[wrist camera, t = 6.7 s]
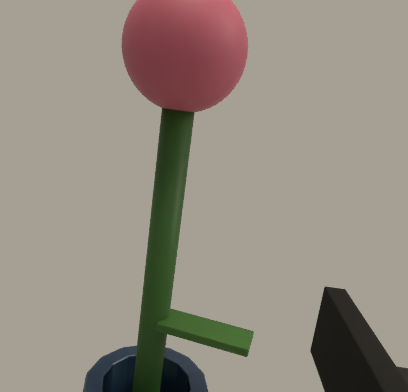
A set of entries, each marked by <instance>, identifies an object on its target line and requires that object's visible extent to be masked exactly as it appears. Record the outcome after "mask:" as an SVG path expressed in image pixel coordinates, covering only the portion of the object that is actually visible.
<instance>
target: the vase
mask: <svg viewBox="0 0 408 392" xmlns="http://www.w3.org/2000/svg"><path fill="white" fill-rule="evenodd" d="M136 352H137V346H131V347H123V348H120V349H118V350H116V351H114V352H111V353H110V354H107V355H105V356H103V357H101V358H100V359H99V360H98V361H97V363H96V364H95V365H94V366H93V367H92V368H91V369H90V370H89V371H88V372H87V375H86V378H85V384H84V389H83V392H132V390H133V381H134V371H135V362H136ZM160 392H208V389H207V385H206V381H205V376H204V373H203V372H202V371H201V370H200V369H199V368H198V367H197V366H196V364H195V363H193V361H192V360H191V359H190V358H189V357H187V356H185V355H183V354H181V353H179V352H176V351H174V350H172V349H170V348H166V347H165V353H164V361H163V370H162V378H161V386H160Z"/></svg>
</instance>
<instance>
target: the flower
mask: <svg viewBox="0 0 408 392" xmlns="http://www.w3.org/2000/svg"><path fill="white" fill-rule="evenodd" d="M247 52H248V39H247V33H246V29H245V25H244V22H243V19H242V17H241V15H240V13H239V11H238V9H237V8H236V6H235V4H234V3H233V2H232V1H231V0H137V1H136V3H135V4H134V5H133V7H132V8H131V10H130V12H129V14H128V17H127V18H126V21H125V24H124V28H123V35H122V54H123V59H124V63H125V67H126V69H127V72H128V74H129V76H130V78H131V80H132V82H133V83H134V85H135V86H136V88H137V89H138V90H139V91H140V92H141V93H142V95H144V96H145V97H146V98H147V99H148V100H149V101H151V102H153V103H154V104H156V105H157V106H160V107H161V108H162V115H161V124H160V134H159V143H158V153H157V162H156V172H155V181H154V191H153V200H152V210H151V219H150V228H149V238H148V248H147V257H146V266H145V276H144V286H143V295H142V305H141V314H140V324H139V334H138V343H137V352H136V362H135V371H134V381H133V390H132V392H160V386H161V378H162V370H163V361H164V353H165V345H166V337H167V334H169V335H173V336H176V337H180V338H183V339H187V340H190V341H194V342H197V343H200V344H204V345H207V346H211V347H214V348H217V349H221V350H224V351H228V352H231V353H235V354H238V355H242V356H245V357H247V356H248V352H249V349H250V345H251V342H252V338H253V333H254V332H253V331H250V330H247V329H243V328H240V327H236V326H232V325H229V324H225V323H221V322H218V321H214V320H210V319H207V318H202V317H199V316H196V315H192V314H188V313H185V312H181V311H177V310H174V309H170V305H171V297H172V288H173V281H174V273H175V265H176V257H177V248H178V240H179V232H180V224H181V216H182V207H183V200H184V192H185V184H186V176H187V167H188V159H189V152H190V144H191V136H192V127H193V119H194V112H198V111H202V110H205V109H208V108H210V107H212V106H214V105H216V104H218V103H219V102H220V101H222V100H223V99H224V98H225V97H226V96H228V95H229V94H230V93H231V91H232V90H233V89H234V87H235V86H236V84H237V83H238V82H239V80H240V78H241V76H242V74H243V71H244V68H245V64H246V59H247Z"/></svg>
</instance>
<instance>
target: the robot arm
mask: <svg viewBox="0 0 408 392" xmlns="http://www.w3.org/2000/svg"><path fill="white" fill-rule="evenodd" d="M311 353H312V356H313V359H314V362H315V365H316V367H317V370H318V373H319V376H320V379H321V382H322V385H323V388H324V390H325V392H408V368H402V367H396V365H395V364H394V363H393V361H392V360H391V358H390V356H389V355H388V354H387V352H386V350H385V349H384V347H383V346H382V344H381V343H380V341H379V340H378V338H377V337H376V335H375V334H374V332H373V331H372V329H371V328H370V326H369V325H368V323H367V322H366V320H365V319H364V317H363V316H362V314H361V313H360V311H359V310H358V308H357V307H356V305H355V304H354V302H353V301H352V299H351V298H350V296H349V295H348V293H347V292H346V290H345V289H339V288H331V287H325V288H324V292H323V297H322V301H321V306H320V310H319V315H318V319H317V323H316V328H315V332H314V337H313V342H312V346H311Z"/></svg>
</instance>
